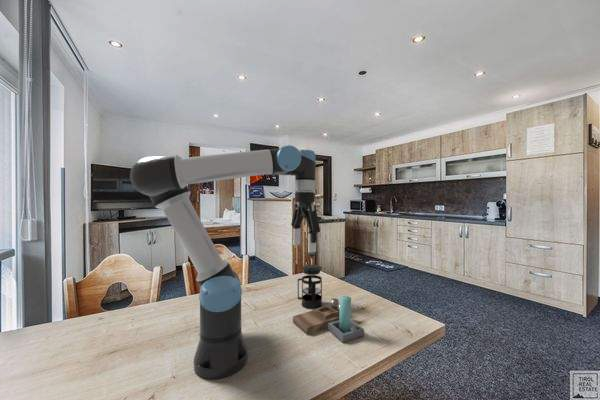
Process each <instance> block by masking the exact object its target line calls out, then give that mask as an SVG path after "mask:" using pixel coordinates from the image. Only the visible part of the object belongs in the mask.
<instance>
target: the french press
mask: <svg viewBox="0 0 600 400" xmlns="http://www.w3.org/2000/svg"><path fill="white" fill-rule="evenodd" d="M306 255H307V256H309V257H310V259H311V261H310V262H311V264H305V265H303V266H301V269H302V273H303V274H304V275H303V276H302V277H301V278H297V300H301V307H302V308H304V309H308V310H315V309H317V308H321V307H323V277H321V276H320V275H319V274H320V273H321V270H322V269H323V268H322V266H321V265H318V264H313V258H314V257H315V256H317V254H316V253H315V252H308V253H307V254H306ZM306 279H308V280H306ZM313 279H317V280H316V281H313ZM300 281H301V297H300V295H299V293H300V291H299V290H300V289H299V288H300V285H299V284H300ZM304 284H306V285H308V287H304ZM319 284H320V288H319V287H316V285H319Z"/></svg>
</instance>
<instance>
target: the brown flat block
mask: <svg viewBox="0 0 600 400" xmlns="http://www.w3.org/2000/svg"><path fill="white" fill-rule="evenodd" d="M338 320H339V312H338V311H337V310H335V309H333V308H332V307H331V305H325V306H322V307H320V308H317V309H312V310H310V311H307V312H302V313H299V314H296V315H292V324H294V325H295V326H296V327H297V328H298V329H299V330H300V331H302V332H303V333H304V334H305V335H306V336H309V335H312V334H314V333H317V332H319V331H323V330H326V329H328V323H331V322H335V321H338Z"/></svg>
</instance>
